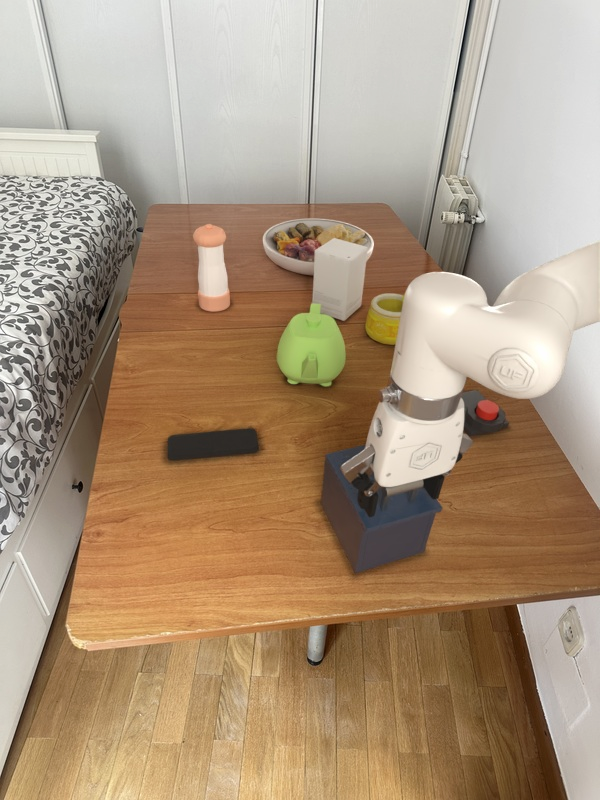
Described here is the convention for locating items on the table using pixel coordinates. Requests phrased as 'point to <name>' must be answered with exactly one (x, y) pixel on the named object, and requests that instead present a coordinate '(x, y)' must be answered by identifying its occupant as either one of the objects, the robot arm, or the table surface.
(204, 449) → the remote control
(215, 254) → the pepper shaker
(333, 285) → the white product box
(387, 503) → the blue drawer with handle
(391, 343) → the mug
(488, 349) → the robot arm
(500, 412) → the switch block
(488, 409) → the button
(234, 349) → the table surface
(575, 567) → the table surface
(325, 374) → the teapot
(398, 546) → the lidded box
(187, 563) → the table surface
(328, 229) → the bowl
